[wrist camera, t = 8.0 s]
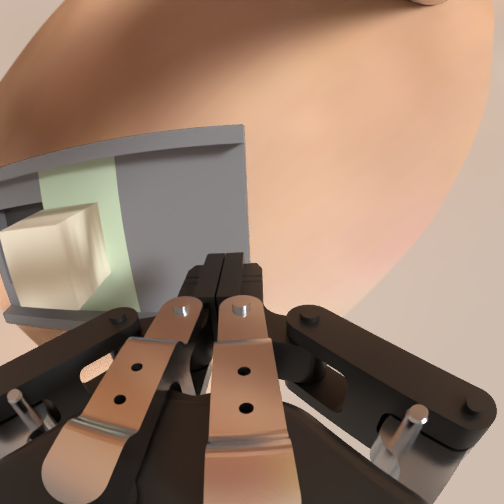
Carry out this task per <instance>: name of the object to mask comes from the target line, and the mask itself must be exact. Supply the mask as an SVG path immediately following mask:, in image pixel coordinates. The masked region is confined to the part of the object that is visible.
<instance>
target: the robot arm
mask: <svg viewBox="0 0 504 504" xmlns="http://www.w3.org/2000/svg"><path fill="white" fill-rule="evenodd" d="M411 1H413V2H416V3H421V4H425V5H436V4H441V3H443V2H445V1H447V0H411ZM108 353H111V356H112V358H113V362H112V364H111V366H110V367H109V369H108V370H107V371H105V372H104V373H102V374H100V375H99V376H97V377H95V378H93V379H92V380H90V381H88V382H86V383H82V382H81V380H80V372H81V370H82V369H83V368H84V367H85V366H87V365H89V364H91V363H92V362H94V361H96V360H98V359H100V358H101V357H103V356H105V355H107V354H108ZM212 357H213V362H212ZM327 364H328V365H329V366H331V367H333V368H334V369H336V370H338V371H339V372H340V373H342V374H343V375H344V376H342V375H341V374H339V373H337V372H336V371H334V370H333V369H331V368H330V367H328V366H327ZM211 372H212V379H211V393H209V394H206V390H207V387H208V383H209V379H210V376H211ZM278 379H282V380H285V384H286V386H287V387H288V389H289V390H291V391H292V392H293V393H294V394H296V395H297V396H298V397H300V398H301V399H302V400H304V401H305V402H306V403H307V404H309V405H310V406H311V407H313V408H314V409H315V410H317V411H318V412H319V413H321V414H322V415H323V416H325V417H326V418H327V419H329V420H330V421H332V422H333V423H334V424H336V425H337V426H338V427H340V428H341V429H342V430H344V431H345V432H347V433H348V434H350V435H351V436H353V437H354V438H355V439H357V440H358V441H360V442H361V443H363V444H364V445H365V446H367V447H368V448H370V449H371V450H370V459H371V461H369V460H368V459H367V458H365V457H364V456H362V455H361V454H360V453H359V452H357V451H356V450H354V449H353V448H352V447H351V446H349V445H348V444H347V443H345V442H344V441H343V440H342V439H340V438H339V437H338V436H337V435H335V434H334V433H333V432H332V431H330V430H329V429H327V427H325V426H324V425H323V424H322V423H320V422H319V421H318V420H317V419H315V418H314V417H313V416H312V415H310V414H309V413H307V412H306V411H304V410H303V409H301V408H298V407H296V406H294V405H292V404H289V403H286V402H282V397H281V392H280V386H279V380H278ZM496 414H497V408H496V404H495V402H494V400H493V398H492V397H491V396H490V395H489V394H488V393H487V392H485V391H484V390H482V389H480V388H478V387H476V386H474V385H472V384H470V383H468V382H466V381H464V380H462V379H460V378H458V377H456V376H454V375H452V374H450V373H448V372H446V371H444V370H442V369H440V368H438V367H436V366H434V365H432V364H430V363H428V362H426V361H425V360H423V359H421V358H419V357H417V356H415V355H413V354H411V353H409V352H407V351H405V350H403V349H401V348H399V347H397V346H395V345H393V344H392V343H390V342H388V341H386V340H384V339H382V338H380V337H378V336H376V335H374V334H372V333H370V332H369V331H367V330H365V329H363V328H361V327H359V326H357V325H355V324H353V323H351V322H349V321H348V320H346V319H344V318H342V317H340V316H338V315H336V314H334V313H333V312H331V311H329V310H327V309H325V308H323V307H320V306H316V305H302V306H298V307H295V308H293V309H291V310H290V311H289V312H288V314H287V316H284V315H279V314H275V313H273V312H271V311H269V310H268V309H266V308H265V306H264V304H263V282H262V268H261V267H260V266H259V265H258V264H257V263H247V264H245V257H244V252H235V253H226V254H225V253H209V254H207V257H206V260H205V262H204V265H195V266H194V267H193V268H192V269H190V270H189V271H188V273H187V275H186V279H185V280H184V282H183V284H182V287H181V289H180V291H179V294H178V296H177V297H176V298H173V299H171V300H169V301H167V302H165V303H164V304H163V306H162V307H161V309H160V310H159V312H158V314H157V315H156V316H153V317H148V318H142V319H139V316H138V313H137V311H136V310H135V309H133V308H130V307H119V308H115V309H112V310H109V311H107V312H105V313H103V314H101V315H99V316H97V317H96V318H94V319H92V320H90V321H88V322H86V323H84V324H82V325H80V326H78V327H76V328H74V329H72V330H70V331H68V332H66V333H64V334H62V335H60V336H58V337H56V338H54V339H52V340H50V341H48V342H46V343H44V344H43V345H41V346H39V347H37V348H35V349H33V350H31V351H29V352H27V353H25V354H24V355H21V356H19V357H17V358H15V359H14V360H12V361H10V362H8V363H6V364H4V365H2V366H0V504H433V503H434V501H435V500H436V499H437V497H438V496H439V494H440V493H441V492H442V490H443V489H444V487H445V486H446V484H447V483H448V481H449V479H450V478H451V476H452V475H453V473H454V472H455V470H456V468H457V467H458V465H459V463H460V462H461V460H462V459H463V458H464V457H465V456H466V455H467V454H468V453H469V452H470V450H471V449H472V448H473V447H474V446H475V444H476V443H477V442H478V441H479V440H480V438H481V437H482V436H483V435H484V433H485V432H486V431H487V430H488V428H489V427H490V426H491V424H492V423H493V421H494V420H495V418H496Z"/></svg>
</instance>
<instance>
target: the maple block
mask: <svg viewBox="0 0 504 504" xmlns="http://www.w3.org/2000/svg"><path fill="white" fill-rule="evenodd" d="M0 240H1V244H2V248H3V252H4V255H5V259H6V262H7V266H8V269H9V272H10V276H11V279H12V282H13V285H14V288H15V291H16V294H17V296H18V299H19V302H20V305H21V307H33V308H47V309H62V310H80V308H81V307H82V306H83V305H84V304H85V302H86V301H87V300H88V299H89V298H90V296H91V295H92V294H93V293H94V292H95V291H96V289H97V288H98V287H99V286H100V285H101V284H102V282H103V281H104V280H105V279H106V278H107V277H108V276H109V275H110V273H111V270H110V266H109V261H108V257H107V252H106V247H105V242H104V237H103V231H102V226H101V220H100V214H99V208H98V202H95V203H87V204H79V205H72V206H64V207H57V208H51V209H44V210H41V211H39V212H37V213H35V214H33V215H31V216H29V217H27V218H25V219H23V220H21V221H19V222H17V223H15V224H13V225H11V226H9V227H7V228H5V229H3V230H2V231H0Z"/></svg>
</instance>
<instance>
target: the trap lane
mask: <svg viewBox="0 0 504 504" xmlns="http://www.w3.org/2000/svg"><path fill="white" fill-rule="evenodd" d="M95 202H98V208H99V214H100V220H101V226H102V231H103V237H104V242H105V247H106V252H107V257H108V261H109V266H110V270H111V273H110V275H109V276H108V277H107V278H106V279H105V280H104V281H103V282H102V284H101V285H100V286H99V287H98V288H97V289H96V291H95V292H94V293H93V294H92V295H91V296H90V298H89V299H88V300H87V301H86V302H85V304H84V305H83V306H82V307H81V308H80V310H62V309H47V308H33V307H21V305H20V302H19V299H18V296H17V294H16V291H15V288H14V285H13V282H12V279H11V276H10V272H9V269H8V266H7V262H6V259H5V255H4V252H3V248H2V244H1V240H0V274H1V277H2V280H3V283H4V286H5V289H6V292H7V294H8V297H9V300H10V303H11V306H10V307H9V308H8V309H7V310H6V311H5V312H4V313H3V315H4V318H5V320H6V322H7V323H11V324H18V325H25V326H32V327H40V328H49V329H58V330H68V331H70V330H72V329H74V328H76V327H78V326H80V325H82V324H84V323H86V322H88V321H90V320H92V319H94V318H96V317H97V316H99V315H101V314H103V313H105V312H107V311H109V310H112V309H115V308H119V307H130V308H133V309H135V310H136V311H137V313H138V316H139V319H142V318H148V317H153V316H156V315H157V314H158V312H159V310H160V309H161V307H162V306H163V304H164V303H165V302H167V301H169V300H171V299H173V298H176V297H177V296H178V294H179V291H180V289H181V287H182V284H183V282H184V280H185V279H186V275H187V273H188V271H189V270H190V269H192V268H193V267H194V266H195V265H204V262H205V260H206V257H207V254H209V253H225V254H226V253H235V252H244V257H245V264H247V263H250V247H249V224H248V201H247V179H246V156H245V132H244V125H243V124H240V125H223V126H209V127H197V128H187V129H178V130H169V131H161V132H153V133H146V134H140V135H133V136H127V137H121V138H115V139H110V140H105V141H99V142H94V143H90V144H85V145H80V146H76V147H71V148H67V149H63V150H59V151H55V152H51V153H47V154H43V155H40V156H36V157H33V158H29V159H26V160H22V161H19V162H16V163H12V164H9V165H6V166H3V167H0V231H2V230H3V229H5V228H7V227H9V226H11V225H13V224H15V223H17V222H19V221H21V220H23V219H25V218H27V217H29V216H31V215H33V214H35V213H37V212H39V211H41V210H44V209H51V208H57V207H64V206H72V205H79V204H87V203H95Z"/></svg>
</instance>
